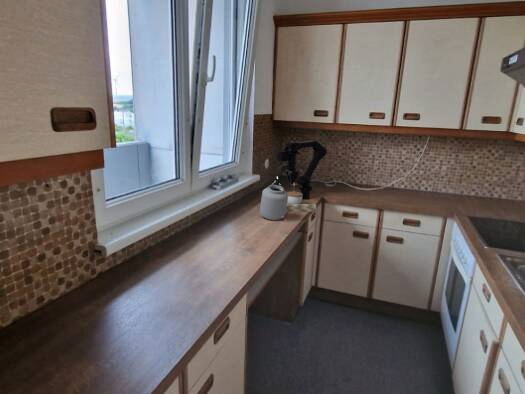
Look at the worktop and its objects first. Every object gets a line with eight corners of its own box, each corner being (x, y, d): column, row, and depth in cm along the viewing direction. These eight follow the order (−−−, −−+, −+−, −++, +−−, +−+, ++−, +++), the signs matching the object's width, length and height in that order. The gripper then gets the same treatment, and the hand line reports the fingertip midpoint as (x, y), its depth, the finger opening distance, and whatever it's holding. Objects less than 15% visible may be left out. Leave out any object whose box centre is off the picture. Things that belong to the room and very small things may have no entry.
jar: (293, 221, 199) (295, 178, 193) (269, 224, 193) (271, 179, 187) (277, 212, 216) (279, 172, 209) (255, 215, 209) (256, 173, 203)
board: (314, 210, 224) (314, 204, 223) (315, 211, 221) (316, 205, 220) (283, 210, 220) (283, 204, 219) (284, 211, 217) (284, 205, 216)
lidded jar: (304, 204, 237) (304, 190, 234) (298, 207, 227) (299, 193, 225) (289, 201, 241) (289, 188, 239) (283, 205, 232) (283, 191, 229)
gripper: (277, 158, 245) (276, 180, 249) (282, 162, 228) (281, 186, 232) (292, 158, 247) (291, 180, 251) (299, 162, 229) (298, 186, 233)
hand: (290, 183), depth 242 cm, fingers open, 7 cm apart
